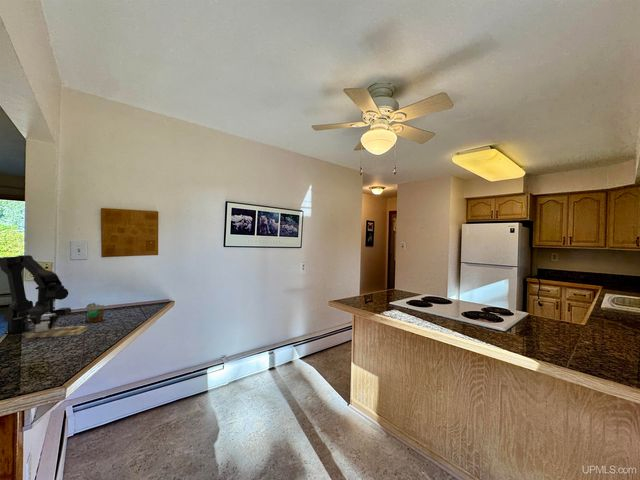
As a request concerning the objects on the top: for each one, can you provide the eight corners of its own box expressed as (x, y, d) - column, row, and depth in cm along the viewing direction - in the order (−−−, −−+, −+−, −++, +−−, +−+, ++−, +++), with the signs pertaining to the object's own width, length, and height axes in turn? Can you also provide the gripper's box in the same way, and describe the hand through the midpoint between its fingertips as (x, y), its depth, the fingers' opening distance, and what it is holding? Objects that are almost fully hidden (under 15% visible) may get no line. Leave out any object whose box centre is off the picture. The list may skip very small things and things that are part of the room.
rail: (24, 338, 128) (25, 334, 128) (37, 332, 137) (37, 328, 137) (78, 334, 135) (78, 330, 135) (87, 329, 143) (87, 325, 143)
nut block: (35, 336, 131) (35, 324, 131) (41, 333, 135) (42, 321, 136) (47, 335, 133) (47, 323, 133) (52, 332, 137) (53, 321, 137)
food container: (81, 321, 158) (81, 304, 158) (93, 319, 163) (94, 302, 163) (91, 324, 152) (91, 307, 152) (103, 322, 157) (104, 305, 158)
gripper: (9, 302, 124) (7, 336, 123) (59, 300, 130) (58, 332, 129) (26, 298, 134) (24, 329, 134) (72, 296, 140) (70, 326, 140)
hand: (44, 329), depth 134 cm, fingers closed on nut block, 5 cm apart
